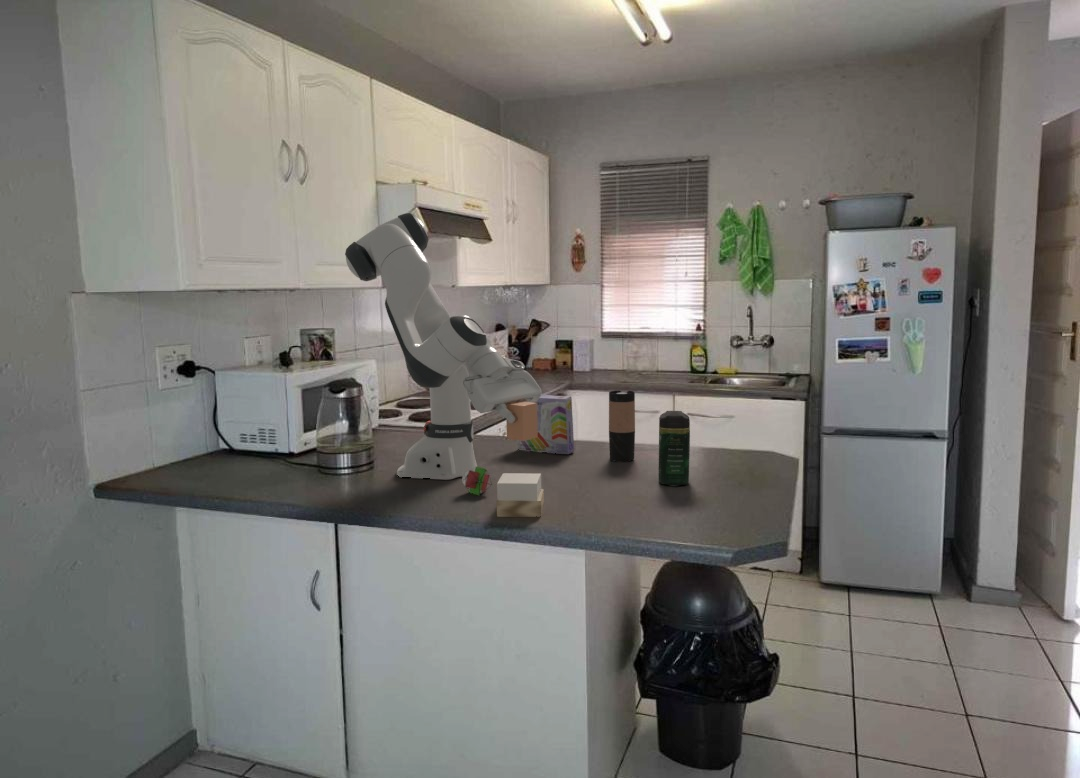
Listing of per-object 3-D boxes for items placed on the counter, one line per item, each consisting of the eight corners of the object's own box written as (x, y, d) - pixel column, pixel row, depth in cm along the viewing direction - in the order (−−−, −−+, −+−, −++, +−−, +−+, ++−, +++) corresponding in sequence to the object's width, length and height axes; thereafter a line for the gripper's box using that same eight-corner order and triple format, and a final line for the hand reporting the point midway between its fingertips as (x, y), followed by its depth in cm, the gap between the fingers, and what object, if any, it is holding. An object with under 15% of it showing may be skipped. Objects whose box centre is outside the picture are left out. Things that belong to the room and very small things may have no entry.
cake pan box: (513, 450, 239) (511, 394, 236) (521, 447, 243) (520, 392, 240) (567, 456, 229) (567, 398, 227) (575, 452, 234) (574, 396, 231)
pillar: (506, 438, 174) (506, 403, 172) (521, 434, 177) (520, 401, 176) (523, 441, 170) (522, 405, 169) (537, 437, 174) (537, 403, 173)
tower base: (497, 518, 171) (496, 500, 171) (502, 505, 181) (501, 488, 181) (541, 518, 171) (540, 501, 170) (543, 505, 181) (543, 488, 180)
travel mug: (618, 463, 219) (618, 394, 216) (604, 458, 226) (603, 391, 223) (640, 460, 223) (640, 392, 220) (625, 455, 229) (625, 389, 226)
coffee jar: (690, 487, 193) (691, 415, 190) (658, 486, 194) (658, 414, 191) (688, 477, 202) (689, 408, 199) (658, 477, 203) (658, 408, 201)
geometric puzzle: (485, 478, 196) (469, 457, 192) (502, 483, 191) (486, 461, 187) (468, 499, 193) (452, 478, 189) (485, 504, 188) (468, 483, 184)
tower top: (497, 500, 171) (497, 483, 171) (503, 489, 180) (503, 473, 180) (537, 500, 170) (536, 483, 170) (541, 490, 179) (541, 473, 179)
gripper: (466, 369, 168) (499, 417, 163) (526, 361, 184) (558, 404, 179) (452, 387, 172) (485, 435, 167) (513, 378, 187) (544, 421, 182)
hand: (523, 419), depth 173 cm, fingers closed on pillar, 5 cm apart
